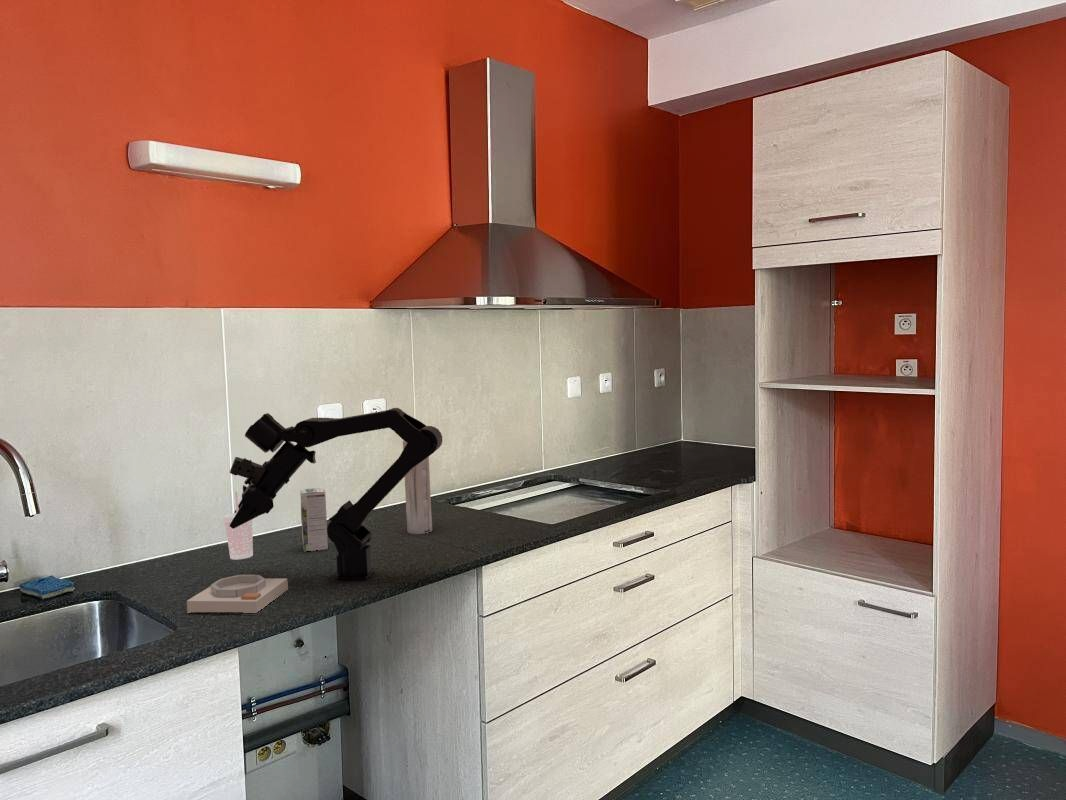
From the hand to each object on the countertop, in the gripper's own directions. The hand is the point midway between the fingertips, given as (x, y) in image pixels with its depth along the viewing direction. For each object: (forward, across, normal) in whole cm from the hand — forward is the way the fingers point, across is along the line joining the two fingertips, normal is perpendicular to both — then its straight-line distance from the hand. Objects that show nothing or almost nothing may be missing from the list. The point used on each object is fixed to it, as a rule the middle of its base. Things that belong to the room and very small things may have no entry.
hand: (231, 524), depth 172 cm
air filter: (-22, -28, +41) cm, 54 cm away
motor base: (+9, +12, +10) cm, 18 cm away
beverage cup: (+4, 0, +6) cm, 8 cm away
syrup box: (-3, -23, +22) cm, 32 cm away
